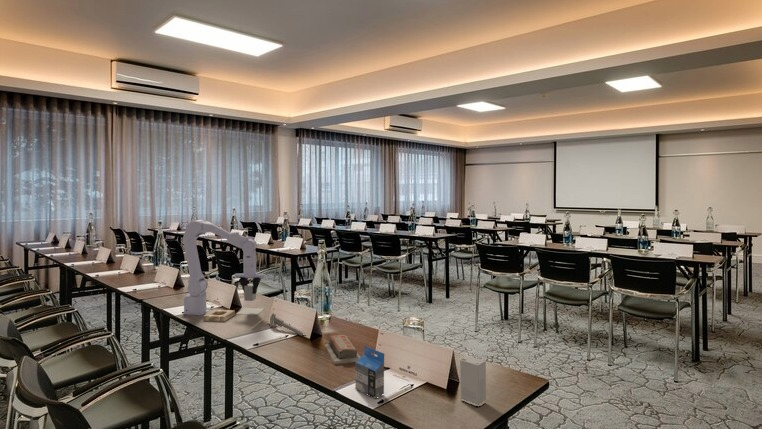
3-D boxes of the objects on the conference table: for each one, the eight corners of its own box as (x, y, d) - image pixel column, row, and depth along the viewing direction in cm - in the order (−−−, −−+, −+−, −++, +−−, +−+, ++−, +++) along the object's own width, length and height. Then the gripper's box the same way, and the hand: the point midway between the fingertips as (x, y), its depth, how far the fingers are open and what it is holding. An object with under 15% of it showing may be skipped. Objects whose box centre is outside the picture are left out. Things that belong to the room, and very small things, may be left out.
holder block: (203, 321, 195) (203, 315, 195) (214, 314, 205) (214, 309, 205) (225, 322, 194) (224, 316, 194) (235, 315, 204) (234, 310, 204)
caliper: (269, 327, 188) (269, 313, 188) (271, 326, 189) (271, 312, 189) (304, 337, 177) (304, 321, 176) (306, 336, 178) (306, 321, 177)
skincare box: (486, 403, 123) (487, 360, 122) (478, 409, 120) (479, 365, 119) (467, 395, 127) (468, 354, 126) (459, 401, 124) (459, 359, 123)
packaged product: (323, 334, 166) (349, 332, 169) (324, 347, 166) (349, 344, 169) (333, 352, 149) (362, 348, 152) (333, 366, 149) (362, 362, 152)
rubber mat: (235, 315, 205) (235, 313, 205) (244, 309, 215) (244, 307, 215) (256, 315, 204) (256, 314, 204) (264, 309, 214) (264, 308, 214)
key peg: (244, 300, 207) (244, 285, 207) (247, 298, 211) (247, 283, 211) (252, 300, 207) (252, 286, 206) (255, 298, 211) (255, 284, 210)
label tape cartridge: (354, 389, 131) (354, 348, 130) (364, 385, 134) (364, 345, 133) (375, 399, 125) (375, 357, 124) (384, 395, 128) (385, 353, 127)
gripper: (231, 266, 205) (231, 294, 206) (261, 266, 203) (261, 295, 204) (237, 263, 212) (238, 291, 213) (267, 264, 210) (267, 292, 211)
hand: (250, 293), depth 209 cm, fingers closed on key peg, 4 cm apart
